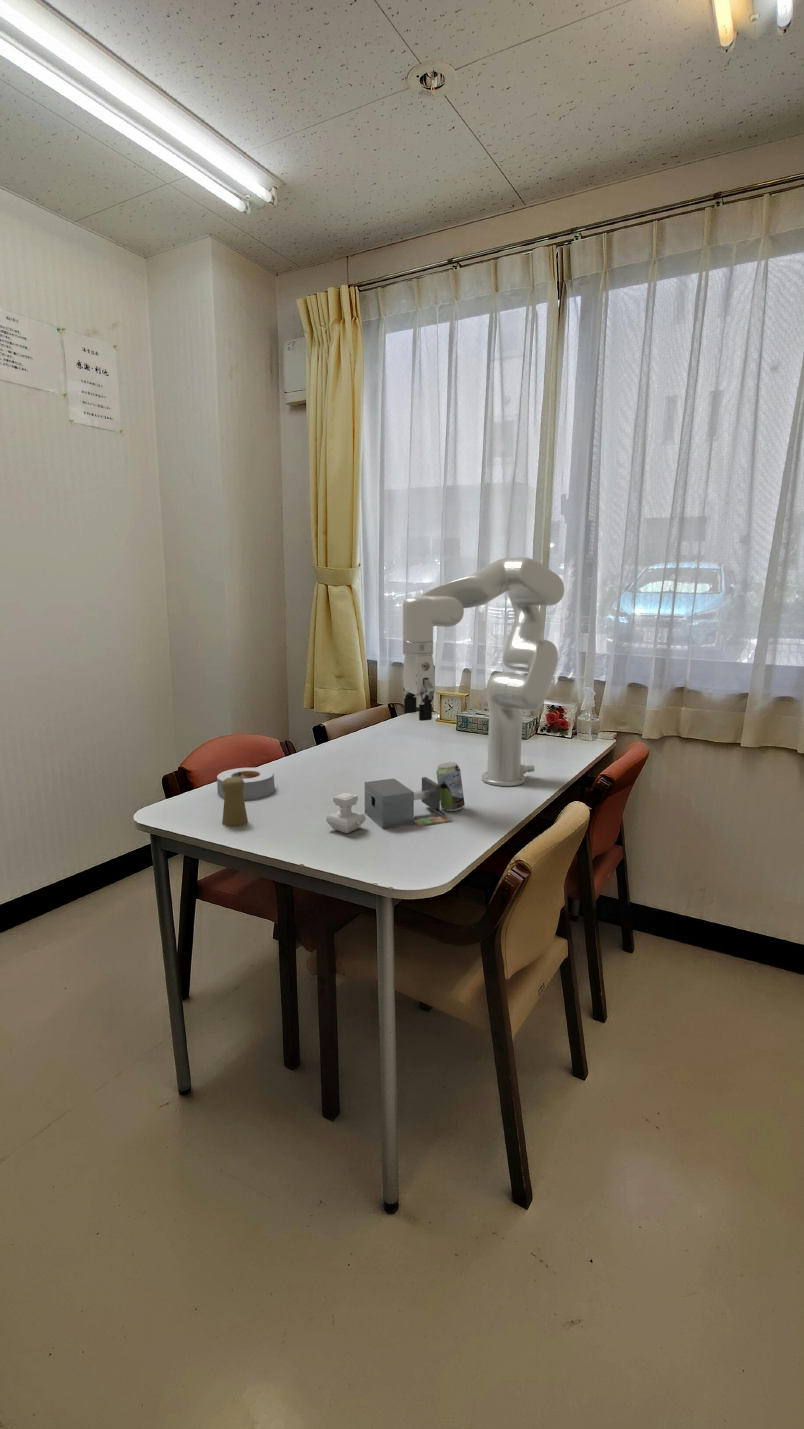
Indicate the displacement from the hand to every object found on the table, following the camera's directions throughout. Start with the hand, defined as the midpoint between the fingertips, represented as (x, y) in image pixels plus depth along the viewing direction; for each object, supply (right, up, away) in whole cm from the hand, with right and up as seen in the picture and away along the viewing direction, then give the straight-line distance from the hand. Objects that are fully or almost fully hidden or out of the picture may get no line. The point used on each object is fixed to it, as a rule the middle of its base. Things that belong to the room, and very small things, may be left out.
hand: (417, 716), depth 165 cm
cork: (-44, -26, -7) cm, 52 cm away
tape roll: (-47, -21, +16) cm, 54 cm away
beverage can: (+8, -24, +2) cm, 25 cm away
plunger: (0, -23, -3) cm, 23 cm away
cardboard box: (+3, -26, -7) cm, 27 cm away
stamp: (-17, -27, -12) cm, 34 cm away
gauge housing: (-7, -25, -4) cm, 26 cm away
